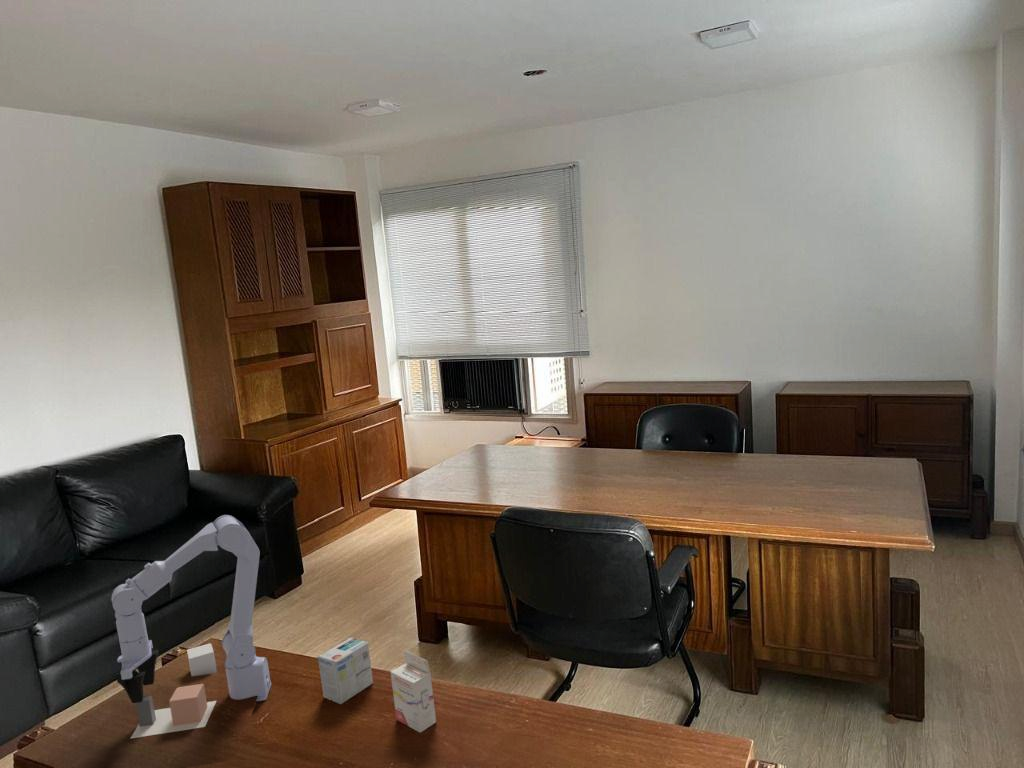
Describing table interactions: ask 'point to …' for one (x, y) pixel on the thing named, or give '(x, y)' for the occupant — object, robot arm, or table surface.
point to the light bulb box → (345, 670)
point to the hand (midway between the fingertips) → (143, 692)
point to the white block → (202, 660)
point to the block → (188, 704)
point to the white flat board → (162, 719)
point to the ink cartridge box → (413, 693)
